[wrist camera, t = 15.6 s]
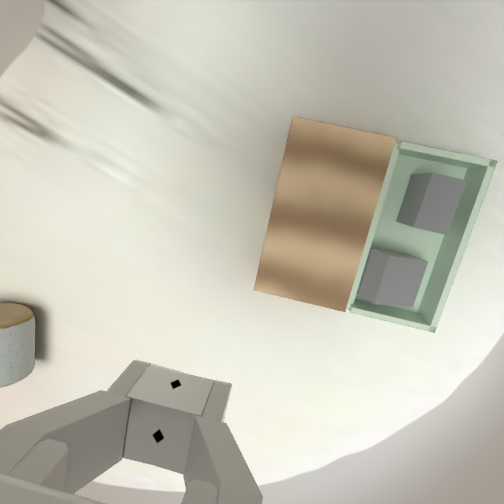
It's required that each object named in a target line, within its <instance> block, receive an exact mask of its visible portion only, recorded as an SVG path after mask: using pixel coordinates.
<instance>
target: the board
mask: <svg viewBox="0 0 504 504" xmlns="http://www.w3.org/2000/svg"><path fill="white" fill-rule="evenodd" d="M395 141H396V138H395V137H391V136H386V135H381V134H376V133H371V132H366V131H361V130H357V129H352V128H347V127H342V126H337V125H332V124H327V123H323V122H318V121H313V120H308V119H303V118H298V117H293V118H292V122H291V127H290V131H289V136H288V140H287V144H286V149H285V153H284V158H283V162H282V167H281V171H280V175H279V180H278V184H277V189H276V193H275V198H274V202H273V207H272V211H271V215H270V220H269V224H268V229H267V233H266V238H265V242H264V246H263V251H262V255H261V260H260V264H259V269H258V273H257V277H256V282H255V286H254V290H256V291H260V292H264V293H268V294H272V295H277V296H281V297H285V298H289V299H293V300H297V301H302V302H306V303H310V304H314V305H318V306H323V307H327V308H331V309H335V310H339V311H343V312H345V310H346V307H347V304H348V300H349V297H350V293H351V290H352V287H353V283H354V280H355V277H356V273H357V270H358V266H359V263H360V260H361V256H362V253H363V250H364V246H365V243H366V239H367V236H368V233H369V229H370V226H371V222H372V219H373V216H374V212H375V209H376V206H377V202H378V199H379V195H380V192H381V189H382V185H383V182H384V178H385V175H386V172H387V168H388V165H389V162H390V158H391V155H392V151H393V148H394V145H395Z"/></svg>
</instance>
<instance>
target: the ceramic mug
mask: <svg viewBox="0 0 504 504" xmlns="http://www.w3.org/2000/svg"><path fill="white" fill-rule="evenodd" d="M34 365H35V317H34V314H33V311H32V310H31V309H30V308H28V307H26V306H24V305H21V304H16V303H0V388H1V387H5V386H9V385H11V384H14V383H16V382H18V381H20V380H22V379H24V378H25V377H27V376H28V375H29V374H30V373H31V372H32V370H33V369H34Z"/></svg>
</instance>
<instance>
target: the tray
mask: <svg viewBox="0 0 504 504" xmlns="http://www.w3.org/2000/svg"><path fill="white" fill-rule="evenodd" d="M496 163H497V161H495V160H490V159H485V158H481V157H476V156H471V155H466V154H461V153H456V152H451V151H447V150H442V149H437V148H432V147H427V146H422V145H417V144H413V143H408V142H403V141H402V142H399V143H397V142H395V145H394V148H393V151H392V155H391V158H390V162H389V165H388V168H387V172H386V175H385V178H384V182H383V185H382V189H381V192H380V195H379V199H378V202H377V206H376V209H375V212H374V216H373V219H372V222H371V226H370V229H369V233H368V236H367V239H366V243H365V246H364V250H363V253H362V256H361V260H360V263H359V266H358V270H357V273H356V277H355V280H354V283H353V287H352V290H351V293H350V297H349V300H348V304H347V307H346V309H349V310H350V312H351V313H354V314H358V315H362V316H367V317H371V318H375V319H379V320H383V321H388V322H392V323H396V324H400V325H404V326H408V327H413V328H417V329H421V330H425V331H429V332H433V333H435V330H436V327H437V325H438V322H439V319H440V316H441V314H442V311H443V308H444V305H445V303H446V300H447V297H448V295H449V292H450V289H451V286H452V284H453V281H454V278H455V275H456V273H457V270H458V267H459V265H460V262H461V259H462V256H463V254H464V251H465V248H466V245H467V243H468V240H469V237H470V234H471V232H472V229H473V226H474V224H475V221H476V218H477V215H478V213H479V210H480V207H481V204H482V202H483V199H484V196H485V193H486V191H487V188H488V185H489V183H490V180H491V177H492V174H493V172H494V169H495V166H496ZM422 173H436V174H441V175H445V176H450V177H454V178H459V179H463V180H466V183H465V186H464V188H463V191H462V194H461V197H460V199H459V202H458V205H457V208H456V210H455V213H454V216H453V219H452V221H451V224H450V227H449V229H448V232H447V235H444V234H440V233H435V232H431V231H427V230H423V229H418V228H414V227H411V226H408V225H405V224H402V223H399V222H396V220H397V217H398V213H399V210H400V207H401V204H402V201H403V198H404V195H405V192H406V189H407V186H408V183H409V180H410V177H411V174H422ZM370 247H371V248H377V249H383V250H390V251H396V252H403V253H407V254H410V255H413V256H416V257H418V258H421V259H424V260H426V261H428V264H427V267H426V270H425V273H424V276H423V279H422V282H421V285H420V288H419V291H418V294H417V297H416V300H415V303H414V306H413V307H402V306H389V305H377V304H373V303H372V302H370V301H368V300H367V299H365V298H364V297H362V296H361V295H359V294H358V293H357V290H358V287H359V284H360V280H361V277H362V274H363V270H364V267H365V264H366V260H367V257H368V254H369V250H370Z"/></svg>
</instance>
